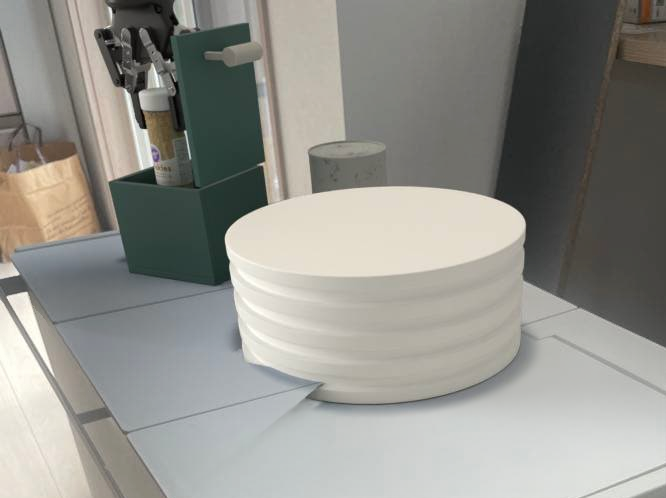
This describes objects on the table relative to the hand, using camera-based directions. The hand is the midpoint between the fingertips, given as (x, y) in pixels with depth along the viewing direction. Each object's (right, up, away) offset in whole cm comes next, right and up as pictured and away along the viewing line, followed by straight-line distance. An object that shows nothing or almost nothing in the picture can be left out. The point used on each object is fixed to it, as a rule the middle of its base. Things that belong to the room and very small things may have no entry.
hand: (165, 128), depth 99 cm
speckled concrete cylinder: (+22, -11, +10) cm, 26 cm away
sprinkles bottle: (0, -8, +6) cm, 10 cm away
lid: (+8, 0, -5) cm, 9 cm away
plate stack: (+26, -28, -13) cm, 41 cm away
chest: (+2, -13, +9) cm, 16 cm away
